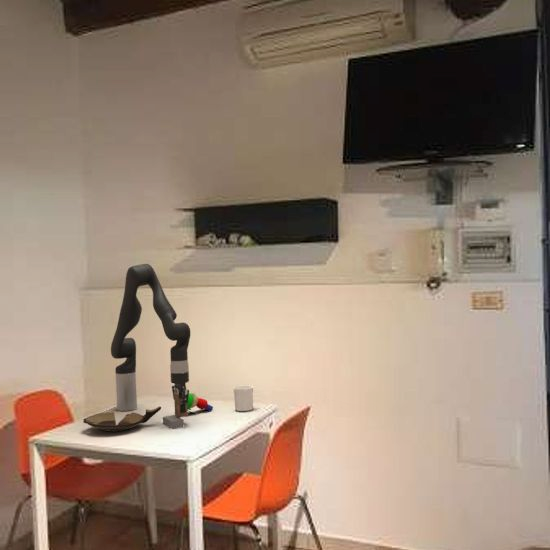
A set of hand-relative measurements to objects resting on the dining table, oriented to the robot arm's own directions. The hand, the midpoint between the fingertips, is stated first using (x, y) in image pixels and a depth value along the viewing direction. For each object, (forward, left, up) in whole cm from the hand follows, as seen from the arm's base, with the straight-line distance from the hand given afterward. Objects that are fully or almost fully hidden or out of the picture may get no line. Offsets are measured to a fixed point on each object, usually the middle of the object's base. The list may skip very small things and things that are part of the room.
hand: (181, 411), depth 249 cm
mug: (-6, +33, -5) cm, 34 cm away
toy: (-15, +13, -5) cm, 20 cm away
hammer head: (0, -4, -5) cm, 6 cm away
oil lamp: (-8, -23, -5) cm, 25 cm away
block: (0, 0, -2) cm, 2 cm away
